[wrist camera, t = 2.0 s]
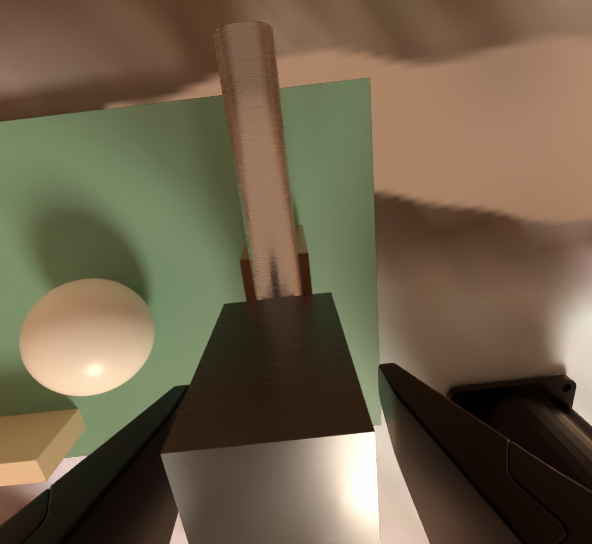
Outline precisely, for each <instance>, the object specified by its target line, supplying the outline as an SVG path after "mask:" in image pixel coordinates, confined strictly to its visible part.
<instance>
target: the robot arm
mask: <svg viewBox="0 0 592 544" xmlns="http://www.w3.org/2000/svg"><path fill="white" fill-rule="evenodd" d="M188 388H189V384H188V385H178V386H174V387H173V388H172V389H170V390H169V391H168V392H167V393H165V394H164V395H163V396H162V397H160V398H159V399H158V400H157V401H155V402H154V403H153V404H152V405H151V406H149V407H148V408H147V409H146V410H144V411H143V412H142V413H141V414H139V415H138V416H137V417H136V418H134V419H133V420H132V421H131V422H129V423H128V424H127V425H126V426H124V427H123V428H122V429H121V430H120V431H118V432H117V433H116V434H115V435H113V436H112V437H111V438H110V439H108V440H107V441H106V442H105V443H103V444H102V445H101V446H100V447H98V448H97V449H96V450H95V451H93V452H92V453H91V454H90V455H88V456H87V457H86V458H85V459H84V460H82V461H81V462H80V463H79V464H77V465H76V466H75V467H74V468H72V469H71V470H70V471H69V472H67V473H66V474H65V475H64V476H62V477H61V478H60V479H59V480H57V481H56V482H55V483H54V484H52V485H51V487H50V489H46V490H45V491H44V492H42V493H41V494H40V495H39V496H38V497H36V498H35V499H34V500H33V501H31V502H30V503H29V504H28V505H26V506H25V507H24V508H22V509H21V510H20V511H19V512H17V513H16V514H15V515H14V516H12V517H11V518H10V519H8V520H7V521H6V522H5V523H3V524H2V525H1V526H0V544H169V543H170V540H171V536H172V533H173V529H174V526H175V522H176V519H177V515H178V512H179V511H178V508H177V505H176V502H175V499H174V496H173V492H172V489H171V486H170V483H169V480H168V477H167V474H166V471H165V467H164V464H163V461H162V458H161V455H160V453H161V451H162V449H163V446H164V444H165V442H166V439H167V437H168V435H169V432H170V430H171V428H172V425H173V423H174V421H175V418H176V416H177V413H178V411H179V409H180V406H181V404H182V402H183V399H184V397H185V395H186V392H187V390H188ZM378 390H379V398H380V402H381V406H382V409H383V413H384V417H385V420H386V424H387V428H388V431H389V435H390V439H391V442H392V446H393V449H394V453H395V456H396V459H397V462H398V464H399V467H400V469H401V472H402V474H403V477H404V480H405V482H406V485H407V487H408V490H409V492H410V495H411V497H412V500H413V502H414V505H415V507H416V510H417V512H418V515H419V517H420V520H421V522H422V525H423V527H424V530H425V532H426V535H427V537H428V540H429V542H430V544H592V426H591V425H590V424H589V423H588V422H586V421H585V420H584V419H583V418H582V417H581V416H580V415H579V414H578V413H576V412H575V411H574V410H573V409H572V405H573V400H574V395H575V390H576V383H575V382H574V381H573V380H572V379H570V378H569V377H568V376H566V375H560V376H550V377H541V378H531V379H522V380H512V381H503V382H493V383H484V384H475V385H465V386H457V387H453V388H452V389H450V390H449V392H448V395H447V398H446V397H445V396H443V395H442V394H440V393H439V392H437V391H436V390H434V389H433V388H431V387H430V386H428V385H427V384H425V383H424V382H422V381H421V380H419V379H418V378H416V377H415V376H413V375H412V374H410V373H409V372H407V371H406V370H404V369H403V368H401V367H400V366H398V365H397V364H395V363H386V364H380V365H379V366H378ZM460 395H461V396H460ZM457 396H460V397H458V398H456V397H457Z"/></svg>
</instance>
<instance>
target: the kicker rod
mask: <svg viewBox="0 0 592 544" xmlns="http://www.w3.org/2000/svg"><path fill="white" fill-rule="evenodd" d="M213 39H214V45H215V51H216V57H217V64H218V70H219V76H220V82H221V88H222V94H223V100H224V106H225V113H226V119H227V125H228V131H229V137H230V143H231V149H232V155H233V162H234V168H235V174H236V180H237V186H238V192H239V198H240V205H241V211H242V217H243V223H244V229H245V235H246V241H247V245H246V247H245V249H244V251H243V254H242V256H241V258H240V260H239V261H240V267H241V273H242V278H243V284H244V290H245V296H246V301H245V302H236V303H227V304H224V305H223V308H222V310H221V312H220V315H219V317H218V319H217V322H216V324H215V326H214V329H213V331H212V334H211V336H210V338H209V341H208V343H207V345H206V348H205V350H204V352H203V355H202V357H201V359H200V362H199V364H198V366H197V369H196V371H195V373H194V376H193V378H192V381H191V383H190V385H189V388H188V390H187V392H186V395H185V397H184V399H183V402H182V404H181V406H180V409H179V411H178V413H177V416H176V418H175V421H174V423H173V425H172V428H171V430H170V432H169V435H168V437H167V439H166V442H165V444H164V446H163V449H162V451H161V453H160V455H161V458H162V461H163V464H164V467H165V471H166V474H167V477H168V480H169V483H170V486H171V489H172V492H173V496H174V499H175V502H176V505H177V508H178V511H179V514H180V518H181V521H182V524H183V527H184V530H185V533H186V536H187V540H188V543H189V544H379V520H378V496H377V472H376V448H375V431H374V428H373V424H372V421H371V418H370V415H369V412H368V408H367V405H366V402H365V399H364V396H363V392H362V389H361V386H360V383H359V380H358V376H357V373H356V370H355V367H354V364H353V360H352V357H351V354H350V351H349V348H348V344H347V341H346V338H345V335H344V332H343V328H342V325H341V322H340V319H339V316H338V312H337V309H336V306H335V303H334V300H333V296H332V293H331V292H327V293H318V294H312V284H311V274H310V264H309V255H308V249H307V244H306V239H305V234H304V229H303V225H298V226H295V223H294V214H293V205H292V197H291V188H290V179H289V170H288V161H287V152H286V143H285V134H284V125H283V117H282V108H281V99H280V90H279V81H278V72H277V63H276V54H275V45H274V37H273V29H272V27H271V26H270V25H268V24H266V23H262V22H255V21H243V22H235V23H230V24H227V25H224V26H221V27H219V28H217V29H216V30H215V31H214V32H213Z"/></svg>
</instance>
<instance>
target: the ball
mask: <svg viewBox="0 0 592 544" xmlns="http://www.w3.org/2000/svg"><path fill="white" fill-rule="evenodd" d="M154 336H155V325H154V320H153V317H152V314H151V311H150V309H149V307H148V306H147V304H146V303H145V301H144V300H143V299H142V298H141V297H140V296H139V295H138V294H137V293H136V292H135V291H133V290H132V289H131V288H129V287H127V286H125V285H123V284H121V283H119V282H115V281H112V280H107V279H100V278H89V279H80V280H75V281H71V282H68V283H65V284H63V285H61V286H58V287H56V288H54V289H53V290H51V291H50V292H48V293H47V294H45V295H44V296H43V297H41V298H40V299H39V300H38V301H37V302H36V303H35V304H34V306H33V307H32V308H31V310H30V311H29V313H28V314H27V316H26V318H25V320H24V322H23V325H22V328H21V331H20V338H19V349H20V354H21V358H22V361H23V363H24V365H25V367H26V369H27V370H28V372H29V373H30V374H31V375H32V377H33V378H34V379H36V380H37V381H38V382H39V383H40V384H42V385H43V386H45V387H46V388H48V389H50V390H52V391H55V392H58V393H61V394H65V395H71V396H90V395H96V394H101V393H104V392H107V391H110V390H112V389H114V388H117V387H118V386H120V385H122V384H123V383H125V382H127V381H128V380H129V379H130V378H131V377H133V376H134V375H135V374H136V373H137V372H138V371H139V370H140V369H141V367H142V366H143V365H144V363H145V362H146V360H147V358H148V357H149V355H150V352H151V350H152V347H153V343H154Z"/></svg>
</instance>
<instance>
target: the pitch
mask: <svg viewBox="0 0 592 544" xmlns="http://www.w3.org/2000/svg"><path fill="white" fill-rule="evenodd" d="M279 90H280V99H281V108H282V117H283V125H284V134H285V143H286V152H287V161H288V170H289V179H290V188H291V197H292V205H293V214H294V223H295V226H298V225H303V229H304V234H305V239H306V244H307V249H308V255H309V264H310V274H311V284H312V294H318V293H327V292H331V293H332V296H333V300H334V303H335V306H336V309H337V312H338V316H339V319H340V322H341V325H342V328H343V332H344V335H345V338H346V341H347V344H348V348H349V351H350V354H351V357H352V360H353V364H354V367H355V370H356V373H357V376H358V380H359V383H360V386H361V389H362V392H363V396H364V399H365V402H366V405H367V408H368V412H369V415H370V418H371V421H372V424H373V426H375V425H381V402H380V398H379V390H378V366H379V336H378V305H377V275H376V244H375V214H374V184H373V156H372V155H373V153H372V124H371V93H370V78H362V79H353V80H345V81H337V82H329V83H320V84H312V85H303V86H295V87H286V88H279ZM246 245H247V241H246V235H245V229H244V223H243V217H242V211H241V205H240V198H239V192H238V186H237V180H236V174H235V168H234V162H233V155H232V149H231V143H230V137H229V131H228V125H227V119H226V113H225V106H224V100H223V95H220V96H211V97H203V98H194V99H186V100H178V101H169V102H161V103H153V104H144V105H136V106H128V107H119V108H111V109H103V110H94V111H86V112H77V113H69V114H61V115H52V116H44V117H36V118H27V119H19V120H11V121H2V122H0V486H8V485H18V484H28V483H37V482H47V480H48V479H49V477H50V476H51V475H52V473H53V472H54V471H55V469H56V468H57V467H58V465H59V464H60V463H61V461H62V460H63V458H68V457H77V456H87V455H90V454H91V453H92V452H93V451H95V450H96V449H97V448H98V447H100V446H101V445H102V444H103V443H105V442H106V441H107V440H108V439H110V438H111V437H112V436H113V435H115V434H116V433H117V432H118V431H120V430H121V429H122V428H123V427H124V426H126V425H127V424H128V423H129V422H131V421H132V420H133V419H134V418H136V417H137V416H138V415H139V414H141V413H142V412H143V411H144V410H146V409H147V408H148V407H149V406H151V405H152V404H153V403H154V402H155V401H157V400H158V399H159V398H160V397H162V396H163V395H164V394H165V393H167V392H168V391H169V390H170V389H172V388H173V387H174V386H178V385H188V384H189V385H190V383H191V381H192V378H193V376H194V373H195V371H196V369H197V366H198V364H199V362H200V359H201V357H202V355H203V352H204V350H205V348H206V345H207V343H208V341H209V338H210V336H211V334H212V331H213V329H214V326H215V324H216V322H217V319H218V317H219V315H220V312H221V310H222V308H223V305H224V304H227V303H236V302H245V301H246V296H245V290H244V284H243V278H242V273H241V267H240V261H239V260H240V258H241V256H242V254H243V251H244V249H245V247H246ZM89 278H100V279H107V280H112V281H115V282H119V283H121V284H123V285H125V286H127V287H129V288H131V289H132V290H133V291H135V292H136V293H137V294H138V295H139V296H140V297H141V298H142V299H143V300H144V301H145V303H146V304H147V306H148V307H149V309H150V311H151V314H152V317H153V320H154V325H155V336H154V343H153V347H152V350H151V352H150V355H149V357H148V358H147V360H146V362H145V363H144V365H143V366H142V367H141V369H140V370H139V371H138V372H137V373H136V374H135V375H134V376H133V377H131V378H130V379H129V380H128V381H127V382H125V383H123V384H122V385H120V386H118V387H117V388H114V389H112V390H110V391H107V392H104V393H101V394H96V395H90V396H71V395H65V394H61V393H58V392H55V391H52V390H50V389H48V388H46V387H45V386H43V385H42V384H40V383H39V382H38V381H37V380H36V379H34V378H33V377H32V375H31V374H30V373H29V372H28V370H27V369H26V367H25V365H24V363H23V361H22V358H21V354H20V349H19V338H20V331H21V328H22V325H23V322H24V320H25V318H26V316H27V314H28V313H29V311H30V310H31V308H32V307H33V306H34V304H35V303H36V302H37V301H38V300H39V299H40V298H41V297H43V296H44V295H45V294H47V293H48V292H50V291H51V290H53V289H54V288H56V287H58V286H61V285H63V284H65V283H68V282H71V281H75V280H80V279H89Z"/></svg>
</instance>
